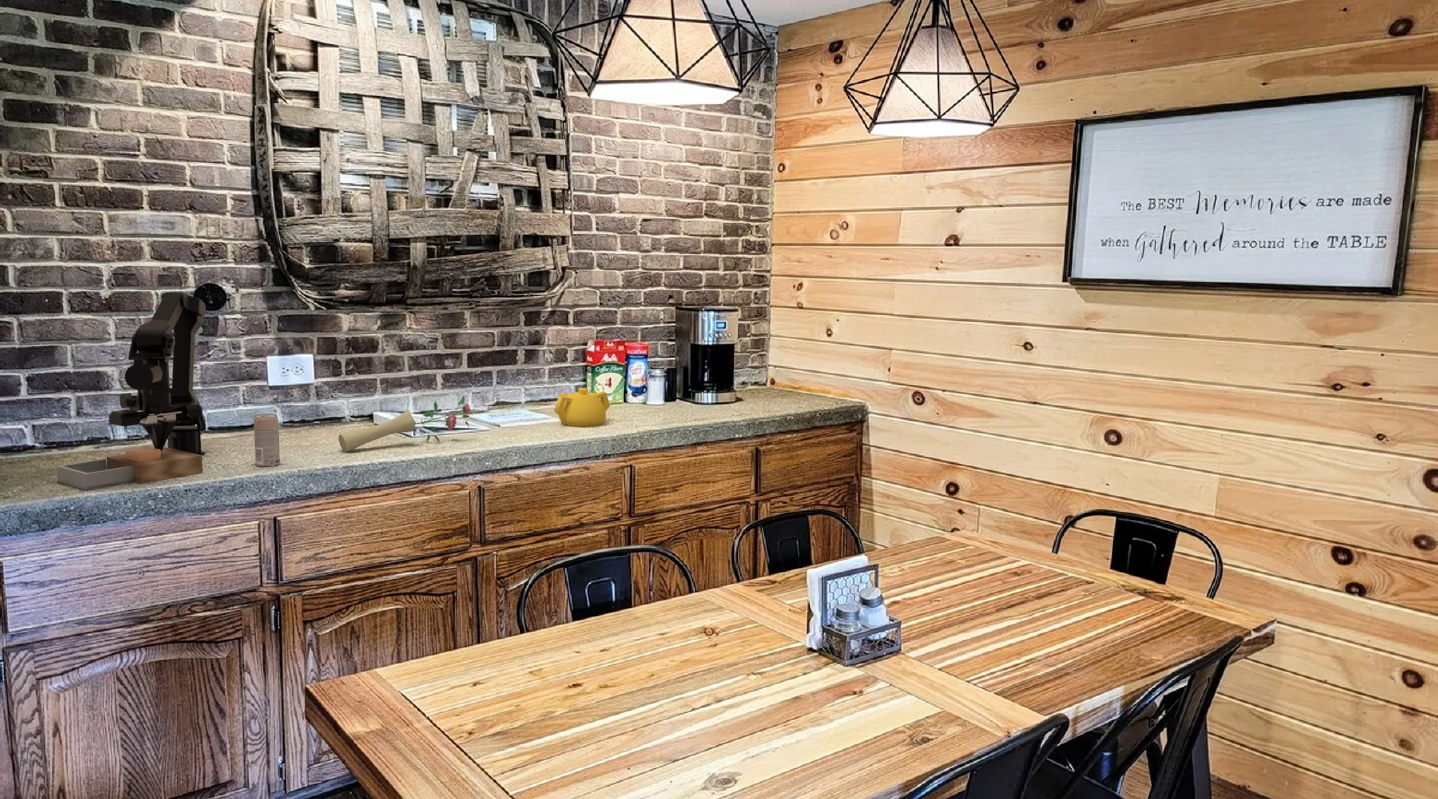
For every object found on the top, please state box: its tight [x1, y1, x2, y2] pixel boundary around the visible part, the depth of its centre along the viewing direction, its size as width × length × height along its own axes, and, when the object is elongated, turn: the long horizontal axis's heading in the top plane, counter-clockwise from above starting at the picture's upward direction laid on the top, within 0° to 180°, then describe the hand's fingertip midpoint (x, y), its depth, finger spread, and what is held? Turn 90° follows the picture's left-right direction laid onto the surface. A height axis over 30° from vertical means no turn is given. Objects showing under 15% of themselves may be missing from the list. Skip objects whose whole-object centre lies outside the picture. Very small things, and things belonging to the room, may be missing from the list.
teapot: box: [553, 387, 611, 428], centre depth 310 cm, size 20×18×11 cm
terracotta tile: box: [125, 445, 161, 461], centre depth 228 cm, size 5×5×2 cm
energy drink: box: [253, 413, 281, 467], centre depth 242 cm, size 5×5×12 cm
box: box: [56, 458, 135, 491], centre depth 221 cm, size 10×12×4 cm
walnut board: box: [105, 446, 204, 484], centre depth 230 cm, size 14×14×4 cm
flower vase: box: [338, 395, 471, 453], centre depth 269 cm, size 12×12×35 cm
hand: (159, 450), depth 231 cm, fingers closed
